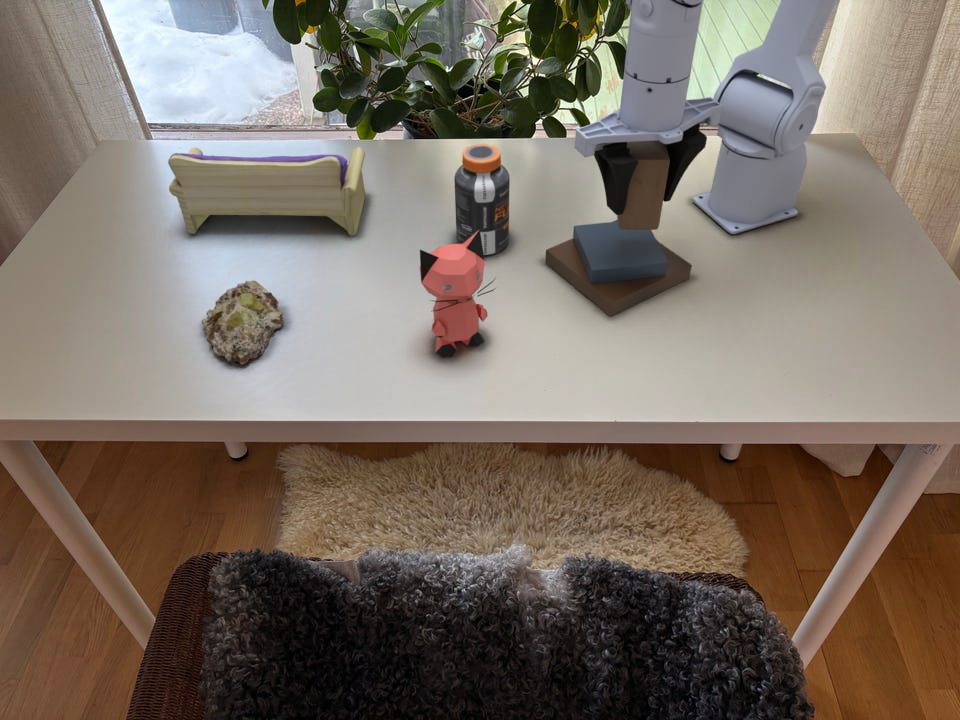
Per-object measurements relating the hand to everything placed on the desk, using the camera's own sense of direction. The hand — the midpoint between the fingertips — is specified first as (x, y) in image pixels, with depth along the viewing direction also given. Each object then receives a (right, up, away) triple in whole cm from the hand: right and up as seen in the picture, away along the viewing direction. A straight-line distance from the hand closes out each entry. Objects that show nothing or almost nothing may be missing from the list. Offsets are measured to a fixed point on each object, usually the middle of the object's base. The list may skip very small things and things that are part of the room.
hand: (638, 203), depth 77 cm
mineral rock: (-40, -13, +1) cm, 42 cm away
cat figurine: (-18, -14, 0) cm, 23 cm away
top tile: (-1, -5, +6) cm, 7 cm away
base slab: (-1, -6, +7) cm, 9 cm away
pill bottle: (-15, -2, +11) cm, 19 cm away
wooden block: (0, -2, +1) cm, 2 cm away
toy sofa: (-40, +1, +16) cm, 43 cm away
